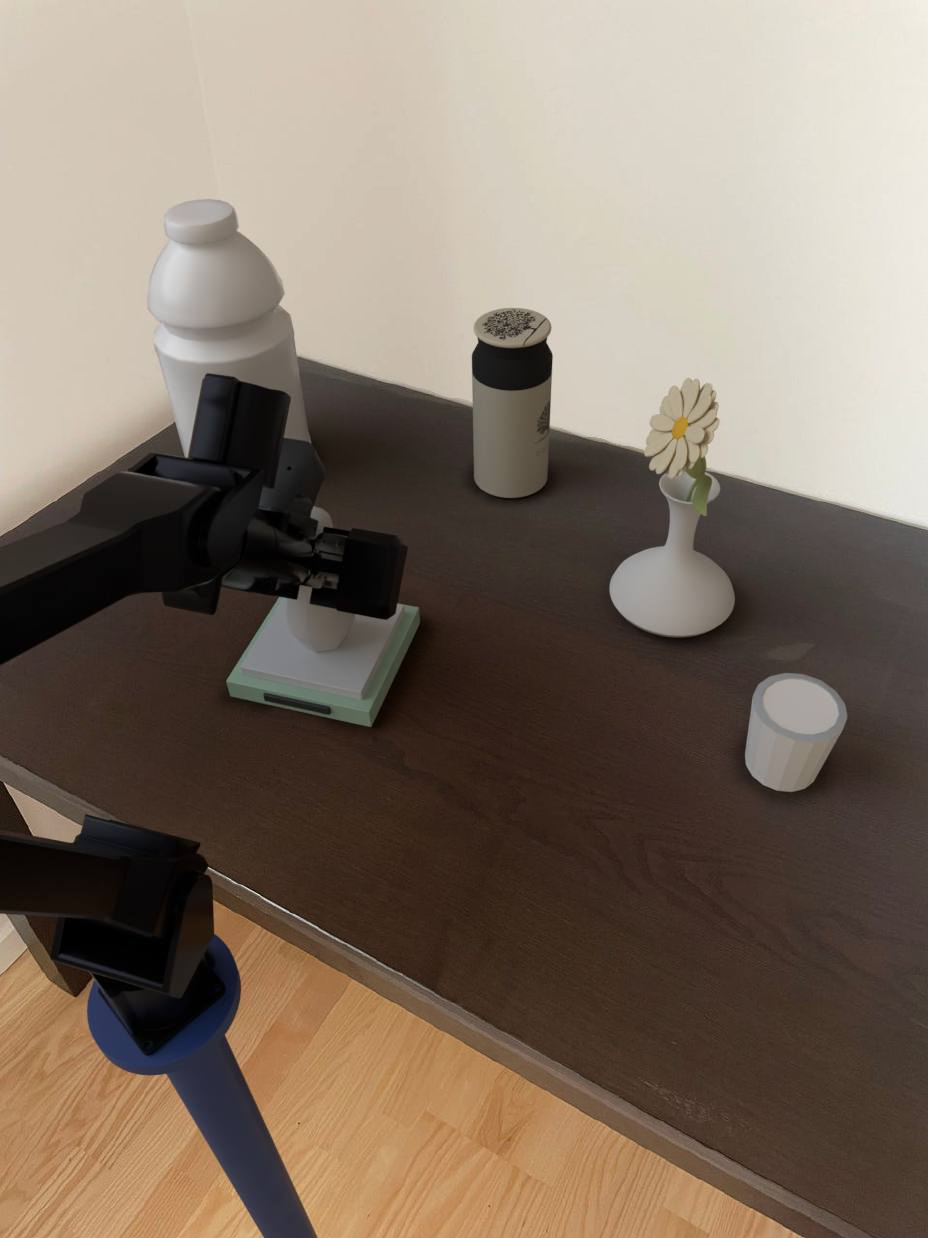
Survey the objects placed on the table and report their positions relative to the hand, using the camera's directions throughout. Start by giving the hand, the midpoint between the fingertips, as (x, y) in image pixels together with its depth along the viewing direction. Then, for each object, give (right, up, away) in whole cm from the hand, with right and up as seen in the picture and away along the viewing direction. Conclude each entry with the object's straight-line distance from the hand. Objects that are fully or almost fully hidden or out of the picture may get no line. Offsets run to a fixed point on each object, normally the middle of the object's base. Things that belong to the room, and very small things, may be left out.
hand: (320, 568), depth 81 cm
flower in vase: (+31, -4, +9) cm, 33 cm away
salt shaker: (0, -6, +4) cm, 7 cm away
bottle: (-12, +13, +28) cm, 33 cm away
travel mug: (+17, +11, +25) cm, 32 cm away
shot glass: (+37, -16, -4) cm, 41 cm away
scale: (0, -8, +6) cm, 10 cm away
